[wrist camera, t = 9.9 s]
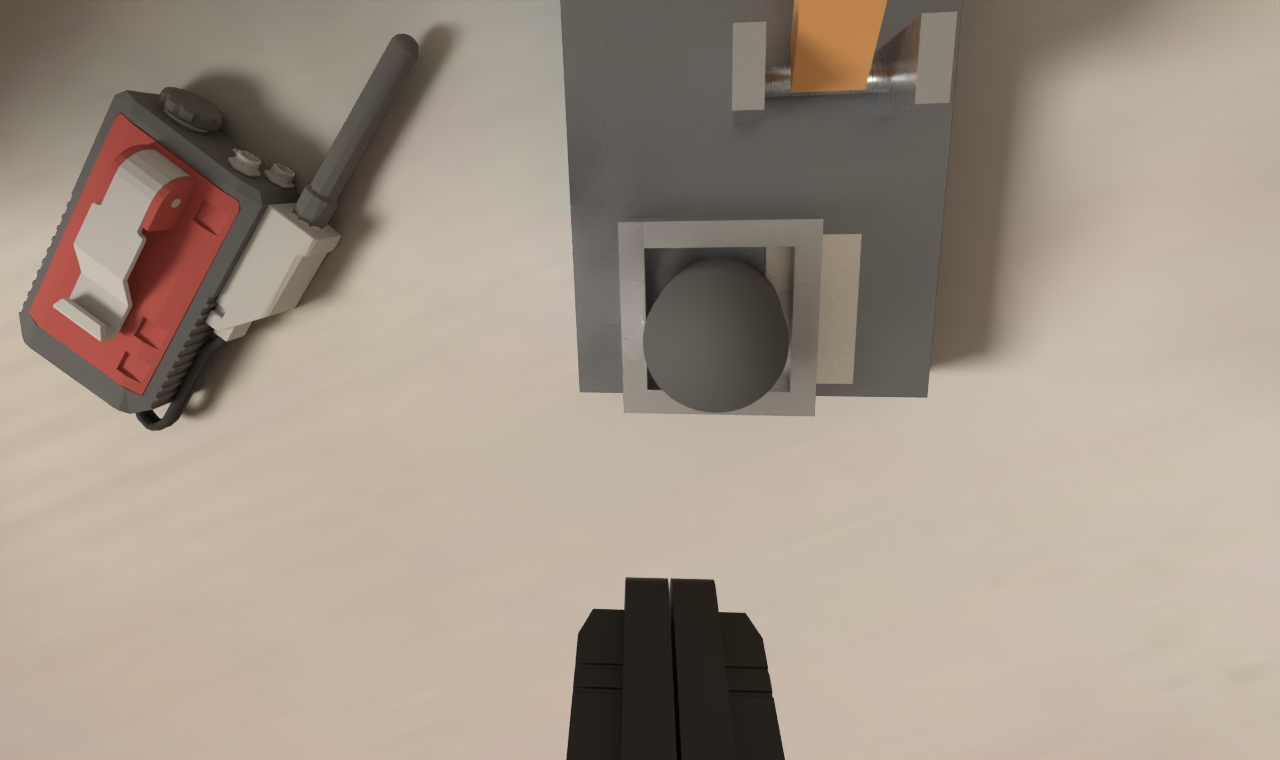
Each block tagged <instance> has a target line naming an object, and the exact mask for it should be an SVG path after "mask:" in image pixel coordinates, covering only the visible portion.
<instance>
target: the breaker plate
mask: <svg viewBox="0 0 1280 760" xmlns="http://www.w3.org/2000/svg"><path fill="white" fill-rule="evenodd" d="M962 1H963V0H887V4H886V8H885V12H884V16H883V20H882V24H881V28H880V32H879V36H878V40H877V44H876V48H875V52H874V56H873V60H872V65H871V69H870V73H869V77H868V81H867V85H866V89H865V90H844V91H818V92H792V93H791V46H790V40H791V30H792V19H793V9H794V0H560V2H561V22H562V43H563V63H564V83H565V103H566V123H567V143H568V164H569V184H570V204H571V224H572V244H573V264H574V284H575V305H576V325H577V345H578V365H579V385H580V392H599V393H623V397H624V413H667V414H720V415H772V416H815V399H816V396H860V397H925V398H927V394H928V383H929V371H930V360H931V349H932V338H933V326H934V315H935V304H936V293H937V281H938V270H939V259H940V248H941V236H942V225H943V214H944V203H945V192H946V180H947V169H948V158H949V147H950V135H951V124H952V113H953V102H954V90H955V79H956V68H957V57H958V46H959V34H960V23H961V12H962ZM709 258H729V259H734V260H738V261H741V262H744V263H746V264H748V265H750V266H752V267H753V268H755V269H756V270H758V271H759V272H760V273H761V274H763V275H764V276H765V277H766V278H767V279H768V281H769V282H770V283H771V284H772V286H773V288H774V289H775V291H776V293H777V295H778V297H779V300H780V303H781V306H782V310H783V313H784V316H785V319H786V323H787V326H788V332H789V352H788V357H787V361H786V364H785V367H784V369H783V372H782V374H781V375H780V377H779V379H778V381H777V382H776V383H775V385H774V386H773V387H772V388H771V389H770V390H769V391H768V392H767V393H766V394H765V395H764V396H763V397H762V398H760V399H759V400H757V401H756V402H754V403H752V404H751V405H749V406H746V407H744V408H742V409H738V410H735V411H730V412H724V413H710V412H702V411H697V410H694V409H691V408H688V407H686V406H684V405H682V404H680V403H678V402H677V401H675V400H673V399H672V398H671V397H669V396H668V395H667V394H666V393H665V392H664V391H663V390H662V389H661V388H660V387H659V386H658V384H657V383H656V382H655V380H654V379H653V377H652V375H651V373H650V371H649V369H648V367H647V364H646V361H645V357H644V352H643V332H644V327H645V323H646V320H647V317H648V314H649V312H650V310H651V308H652V306H653V305H654V303H655V302H656V300H657V298H658V297H659V295H660V294H661V292H662V291H663V289H664V288H665V286H666V284H667V283H668V282H669V281H670V280H671V278H672V277H673V276H674V275H675V274H677V273H678V272H679V271H680V270H682V269H683V268H685V267H686V266H688V265H690V264H692V263H694V262H697V261H700V260H704V259H709Z"/></svg>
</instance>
